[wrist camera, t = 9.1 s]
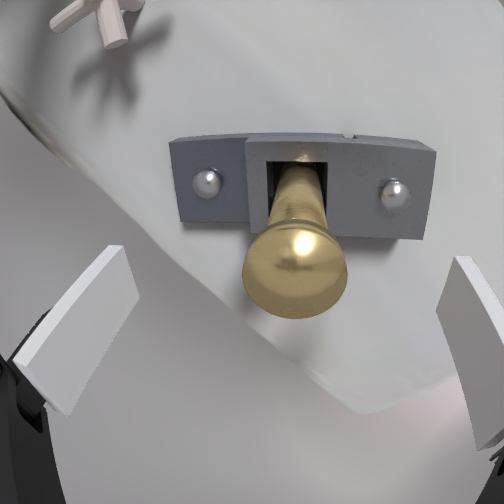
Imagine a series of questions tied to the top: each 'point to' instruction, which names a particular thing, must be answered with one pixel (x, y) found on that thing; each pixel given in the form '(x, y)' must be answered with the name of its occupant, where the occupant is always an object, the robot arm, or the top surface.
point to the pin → (296, 251)
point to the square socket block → (335, 180)
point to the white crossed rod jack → (98, 18)
